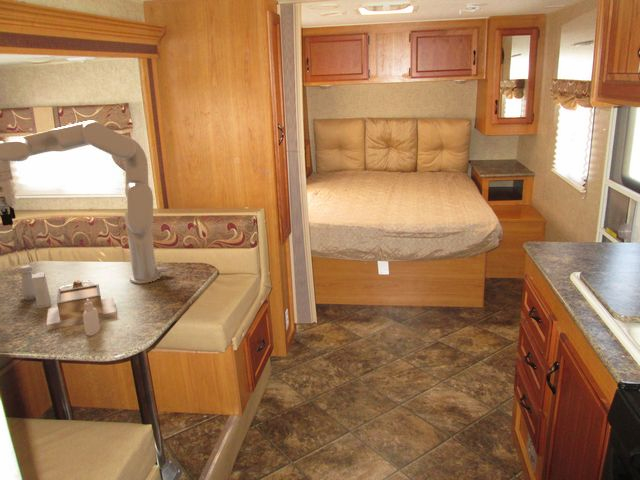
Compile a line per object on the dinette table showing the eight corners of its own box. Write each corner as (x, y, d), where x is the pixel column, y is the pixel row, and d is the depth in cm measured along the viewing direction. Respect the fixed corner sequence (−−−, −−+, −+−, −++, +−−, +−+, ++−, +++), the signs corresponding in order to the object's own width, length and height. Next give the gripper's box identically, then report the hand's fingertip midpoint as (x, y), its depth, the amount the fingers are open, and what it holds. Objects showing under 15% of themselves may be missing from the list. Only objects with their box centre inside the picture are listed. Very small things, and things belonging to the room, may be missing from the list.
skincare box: (50, 306, 193) (45, 276, 189) (37, 309, 191) (31, 278, 187) (51, 300, 198) (45, 271, 194) (37, 303, 196) (31, 273, 192)
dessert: (58, 290, 209) (56, 279, 208) (89, 282, 217) (87, 271, 215) (67, 298, 201) (65, 287, 199) (98, 290, 208) (97, 279, 207)
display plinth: (113, 302, 195) (110, 281, 193) (116, 316, 183) (113, 294, 180) (49, 313, 186) (44, 292, 184) (47, 330, 174) (43, 306, 172)
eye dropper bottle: (81, 333, 171) (75, 300, 168) (97, 327, 175) (91, 294, 172) (89, 337, 169) (83, 303, 165) (104, 330, 173) (99, 297, 169)
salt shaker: (32, 301, 198) (25, 269, 194) (19, 300, 199) (12, 268, 195) (42, 295, 203) (36, 264, 199) (30, 294, 204) (23, 263, 200)
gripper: (9, 178, 179) (18, 226, 185) (14, 171, 195) (23, 215, 200) (-16, 181, 177) (-6, 228, 182) (-9, 173, 192) (0, 217, 197)
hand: (9, 221), depth 191 cm, fingers open, 9 cm apart
